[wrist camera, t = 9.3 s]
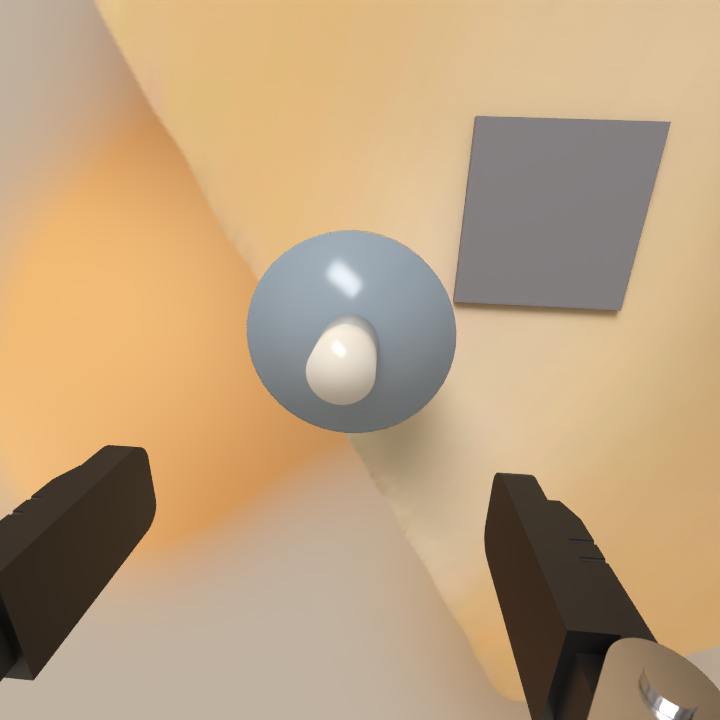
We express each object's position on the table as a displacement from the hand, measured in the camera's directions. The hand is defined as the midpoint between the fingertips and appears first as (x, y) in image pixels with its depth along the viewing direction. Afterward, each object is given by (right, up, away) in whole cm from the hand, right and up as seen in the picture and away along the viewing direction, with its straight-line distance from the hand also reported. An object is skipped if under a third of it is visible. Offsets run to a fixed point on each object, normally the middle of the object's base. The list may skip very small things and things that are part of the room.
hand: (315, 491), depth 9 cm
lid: (+1, +5, +15) cm, 16 cm away
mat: (+16, +14, +23) cm, 32 cm away
